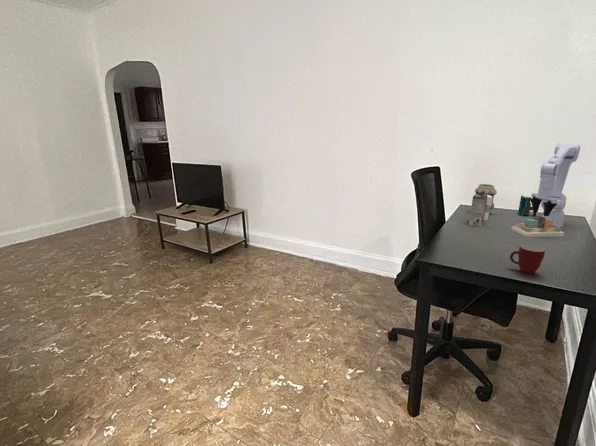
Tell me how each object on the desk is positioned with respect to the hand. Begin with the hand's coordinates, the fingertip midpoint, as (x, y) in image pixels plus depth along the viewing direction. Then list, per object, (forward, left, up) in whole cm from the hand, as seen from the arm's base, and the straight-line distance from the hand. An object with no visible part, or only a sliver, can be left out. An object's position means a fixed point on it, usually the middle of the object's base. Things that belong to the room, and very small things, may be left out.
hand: (540, 213), depth 174 cm
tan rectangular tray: (0, 0, -8) cm, 8 cm away
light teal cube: (+4, 0, -7) cm, 8 cm away
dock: (0, 0, -10) cm, 10 cm away
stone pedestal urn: (+6, -39, -10) cm, 41 cm away
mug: (+39, +44, -10) cm, 60 cm away
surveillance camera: (-18, -31, -10) cm, 37 cm away
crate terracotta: (-4, 0, -7) cm, 8 cm away
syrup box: (+14, -26, -10) cm, 31 cm away
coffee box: (+22, -18, -10) cm, 30 cm away
